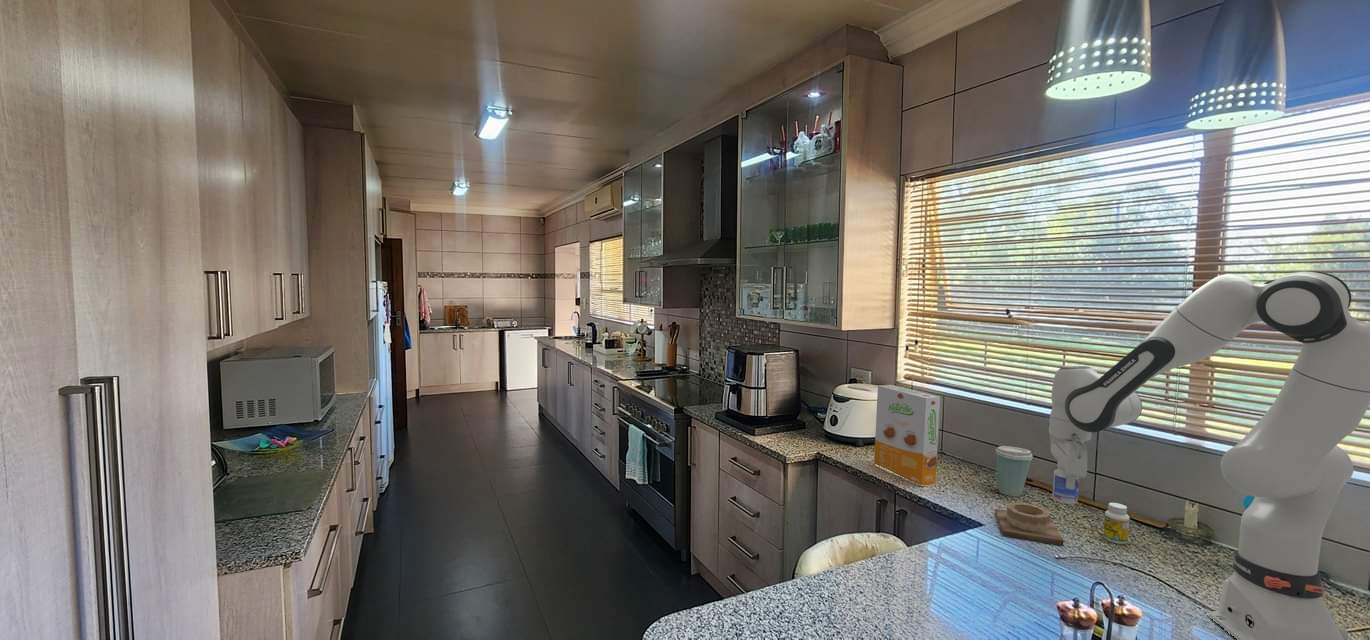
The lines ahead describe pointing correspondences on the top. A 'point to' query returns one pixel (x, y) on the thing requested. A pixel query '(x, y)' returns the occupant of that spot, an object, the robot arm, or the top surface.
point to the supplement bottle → (1116, 524)
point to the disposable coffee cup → (1012, 469)
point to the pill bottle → (1063, 487)
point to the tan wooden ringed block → (1028, 523)
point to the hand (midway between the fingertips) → (1065, 483)
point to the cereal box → (907, 433)
